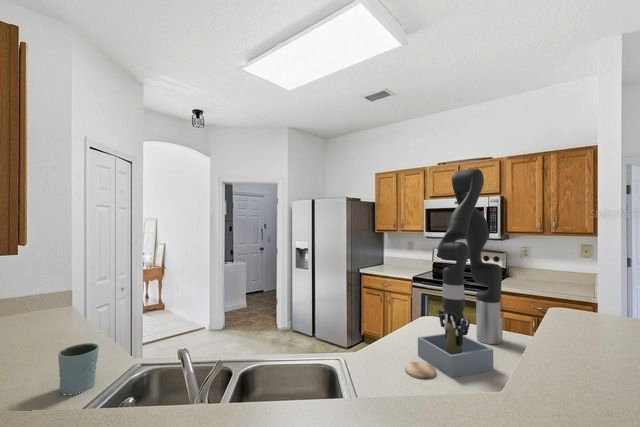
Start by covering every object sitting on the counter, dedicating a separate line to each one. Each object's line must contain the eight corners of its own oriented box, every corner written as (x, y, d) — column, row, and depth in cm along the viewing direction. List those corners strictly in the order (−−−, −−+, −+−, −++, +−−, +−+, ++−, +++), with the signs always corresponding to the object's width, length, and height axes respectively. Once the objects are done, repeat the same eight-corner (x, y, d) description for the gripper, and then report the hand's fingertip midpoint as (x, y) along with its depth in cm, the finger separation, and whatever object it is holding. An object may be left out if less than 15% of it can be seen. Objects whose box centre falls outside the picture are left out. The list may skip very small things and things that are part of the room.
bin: (455, 349, 127) (455, 331, 127) (493, 369, 110) (493, 349, 110) (417, 355, 122) (417, 337, 122) (451, 377, 105) (451, 356, 105)
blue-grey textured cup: (68, 381, 102) (69, 344, 102) (104, 378, 105) (104, 341, 105) (49, 399, 92) (50, 357, 93) (89, 394, 95) (89, 354, 95)
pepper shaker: (464, 357, 112) (464, 326, 113) (446, 356, 114) (446, 325, 114) (460, 350, 118) (460, 321, 119) (443, 349, 120) (443, 320, 120)
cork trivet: (423, 363, 115) (423, 360, 115) (442, 375, 106) (442, 372, 106) (399, 367, 112) (399, 364, 112) (416, 380, 103) (416, 377, 103)
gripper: (476, 300, 111) (477, 349, 111) (448, 291, 124) (448, 335, 124) (459, 301, 108) (459, 352, 108) (432, 292, 122) (432, 337, 122)
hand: (453, 342), depth 116 cm, fingers closed on pepper shaker, 4 cm apart
